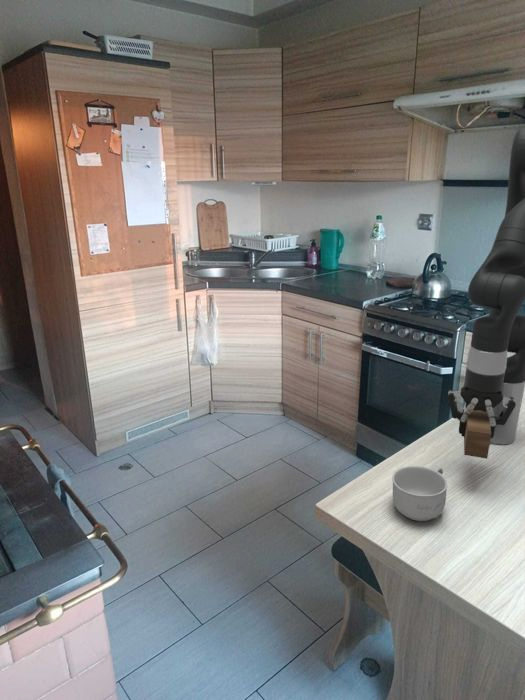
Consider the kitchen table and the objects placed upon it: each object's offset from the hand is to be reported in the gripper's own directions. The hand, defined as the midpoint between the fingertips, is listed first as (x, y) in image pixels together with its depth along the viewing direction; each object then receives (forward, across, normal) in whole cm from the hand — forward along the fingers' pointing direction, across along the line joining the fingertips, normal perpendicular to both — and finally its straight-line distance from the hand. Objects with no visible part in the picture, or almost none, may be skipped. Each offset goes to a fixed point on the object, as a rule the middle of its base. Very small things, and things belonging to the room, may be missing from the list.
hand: (475, 436), depth 110 cm
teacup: (+11, +10, +15) cm, 21 cm away
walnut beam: (+1, 0, 0) cm, 1 cm away
